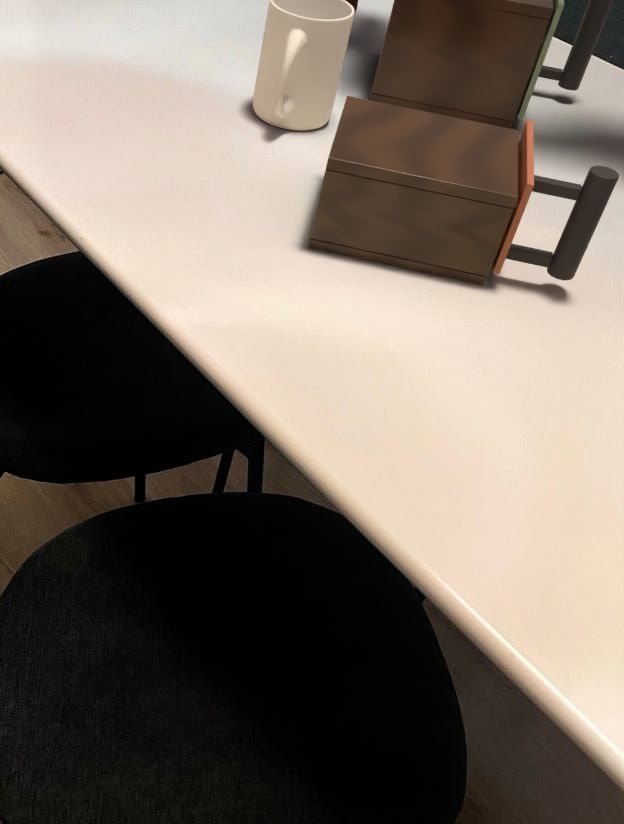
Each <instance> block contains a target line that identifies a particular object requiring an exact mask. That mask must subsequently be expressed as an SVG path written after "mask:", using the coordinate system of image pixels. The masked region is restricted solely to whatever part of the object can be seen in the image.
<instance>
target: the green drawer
mask: <svg viewBox="0 0 624 824" xmlns="http://www.w3.org/2000/svg"><path fill="white" fill-rule="evenodd" d="M613 2H614V0H589V2H588V3H587V6H586V8H585V12H584V14H583V17H582V19H581V22H580V24H579V26H578V27H579V28H578V30H577V33H576V35H575V38H574V40H573V43H572V46H571V48H570V51H569V53H568V56H567V59H566V62H565V64H564V67H563V68H558V67H553V66H548V65H544V62H545V59H546V57H547V54H548V52H549V48H550V46H551V43H552V40H553V37H554V35H555V33H556V29H557V27H558V24H559V21H560V18H561V15H562V12H563V10H564V7H565V0H553V8H554V10H553V12H552V15H551V18H550V21H549V24H548V26H547V29H546V32H545V35H544V37H543V40H542V43H541V46H540V49H539V51H538V54H537V57H536V60H535V63H534V65H533V68H532V71H531V74H530V77H529V79H528V82H527V85H526V88H525V90H524V93H523V96H522V99H521V102H520V104H519V107H518V110H517V113H516V119H517V120H522V121H523V119H524V117H525V115H526V111H527V109H528V106H529V103H530V101H531V98H532V95H533V93H534V89H535V87H536V84H537V82H538V79H539V78H542V79H547V80H553V81H558V82H557V85H558V87H560V88H561V89H564V90H567V91H577V90H579V89H580V86H581V83H582V81H583V78H584V75H585V73H586V71H587V68H588V65H589V64H590V60H591V58H592V56H593V53H594V50H595V48H596V46H597V43H598V40H599V38H600V35H601V33H602V30H603V27H604V25H605V22H606V20H607V18H608V15H609V12H610V10H611V8H612V5H613Z"/></svg>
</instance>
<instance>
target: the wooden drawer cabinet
mask: <svg viewBox="0 0 624 824" xmlns="http://www.w3.org/2000/svg"><path fill="white" fill-rule="evenodd" d="M553 10H554V8H553V0H393V3H392V7H391V11H390V16H389V20H388V24H387V28H386V32H385V35H384V39H383V44H382V47H381V52H380V56H379V59H378V64H377V67H376V72H375V76H374V80H373V83H372V88H371V92H370V94H369V95H370V96H369V98H368V100H371V101H376V102H381V103H386V104H391V105H396V106H401V107H406V108H411V109H416V110H421V111H426V112H431V113H435V114H440V115H445V116H450V117H455V118H460V119H465V120H470V121H475V122H480V123H485V124H490V125H495V126H500V127H505V128H510V129H512V126H513V123H514V121H515V119H516V117H517V110H518V107H519V104H520V102H521V99H522V96H523V93H524V90H525V88H526V85H527V82H528V79H529V77H530V74H531V71H532V68H533V65H534V63H535V60H536V57H537V54H538V51H539V49H540V46H541V43H542V40H543V37H544V35H545V32H546V29H547V26H548V24H549V21H550V18H551V15H552V12H553Z"/></svg>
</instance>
